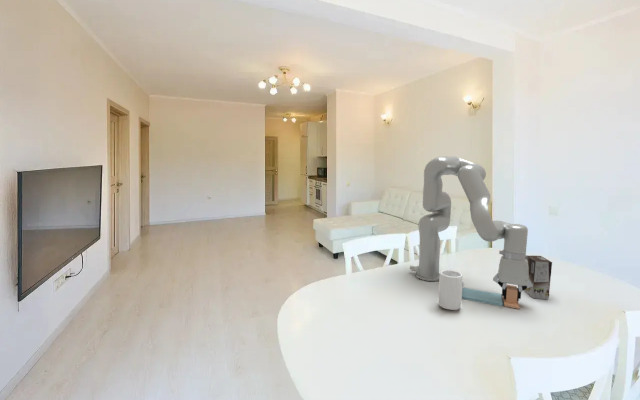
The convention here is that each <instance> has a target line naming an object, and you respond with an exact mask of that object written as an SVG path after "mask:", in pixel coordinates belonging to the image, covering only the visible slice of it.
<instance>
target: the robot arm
mask: <svg viewBox="0 0 640 400" xmlns="http://www.w3.org/2000/svg"><path fill="white" fill-rule="evenodd" d="M450 175H451V176H455V177H457V178H458V181H459V183H460V185H461V188H462V189H463V192H464V193H465V196H466V198H467V200H468V202H469V211H470V218H471V221H472V223H473V226H474V228H475V230H476V232H477V234H478V236H479V237H480V238H481V239H482V240H484V241H485V242H488V243H489V242H490V243H491V242H495V241H498V240H501V239H503V240H504V241H503V249H502V250H499V251H498V254H499V255H501V257H500V260H499V264H498V270H497V273H496V274H495V275H494V276H493V278H492V281H493V282H494V283H496V284H498V285H499V287H501V289H502V290H501V294H502V297H503V296H504V299H506V293H507V289H506V285H513V286H517V290H518V294H517V301H518V302H519V301H520V300H521V299H522V293H523V292H524V290H525V289H526V288H529V287H532V286H533V285H532V283H531V281H530V280H529V266H528V261H527V260H526V255H527V247H528V246H527V245H528V233H529V232H528V231H529V229H528V227H527V226H526V225H524V224H520V223H509V222H506V221H502V220H493V218H492V217H491V214H490V210H489V205H490V204H489V203H490V200H491V192H490V191H489V189H488V187H487V186H486V184H485V181H484V180H485V179H486V177H487V176H486V175H487V172H486V169H485V168H484V167H483V165H481V164H477V163H476V162H475V163H474V162H472V161H468V160H466V159H463V158H461V157H457V156H438V157H435V158H433V159H431V160H429V161H428V163H427V164H426V165H425V167H424V169H423V189H422V190H423V191H422V207H423V210H425V211H426V212H429V214H426V215H423V216H422V217H421V218H420V219H419V221H418V232H419V235H418V236H419V249H418V250H419V253H418V254H419V255H418V265H417V266H414V265H410V266H409V269H410V270H411V272H415V275H416V276H417V277H418V278H417V277H416V276H415V277H416V278H417V279H419V278H420V280H421V279H422V280H421V281H425V280H426V282H438V281H439V278H440V258H441V257H440V253H441V238H440V234H439V233H441V232H443V231H446V230H447V229H448V228H449V226H450V224H451V223H450V222H451V216H452V214H451V211H452V199H451V196H450V195H449V194H448V193H447V192H446V191H443V186H444V185H443V179H442V176H450Z"/></svg>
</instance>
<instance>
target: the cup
mask: <svg viewBox="0 0 640 400" xmlns="http://www.w3.org/2000/svg"><path fill="white" fill-rule="evenodd" d="M439 273H440V278H439V282H438V305H439V306H440V307H442V308H443V309H447V310H453V311H457V310H459V309H461V307H462V300H463V299H462V288H464V281H463V280H464V279H463V274H462V273H461V272H460V271H457V270H452V269H443V270H440V271H439Z"/></svg>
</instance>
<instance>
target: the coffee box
mask: <svg viewBox="0 0 640 400" xmlns="http://www.w3.org/2000/svg"><path fill="white" fill-rule="evenodd" d="M526 260H527V261H528V266H529V280H530V281H531V283H532V285H533V286H532V287H529V288H526V289H525V290H523V292H525V294H528V295H529V296H530V297H531V298H533V299H538V300H539V299H540V300H549V298H550V289H551V276H552V266H553V261H550V259H547V258H546V257H544V256H542V255H527V254H526Z"/></svg>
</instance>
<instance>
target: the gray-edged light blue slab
mask: <svg viewBox="0 0 640 400" xmlns="http://www.w3.org/2000/svg"><path fill="white" fill-rule="evenodd" d="M462 300H465V301H466V300H467V301H472V302H477V303H483V304H489V305H494V306H498V307H505V306H504V301H503V296H502V293H497V292H491V291H490V292H489V291H484V290H479V289H472V288H467V287H463V288H462Z"/></svg>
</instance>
